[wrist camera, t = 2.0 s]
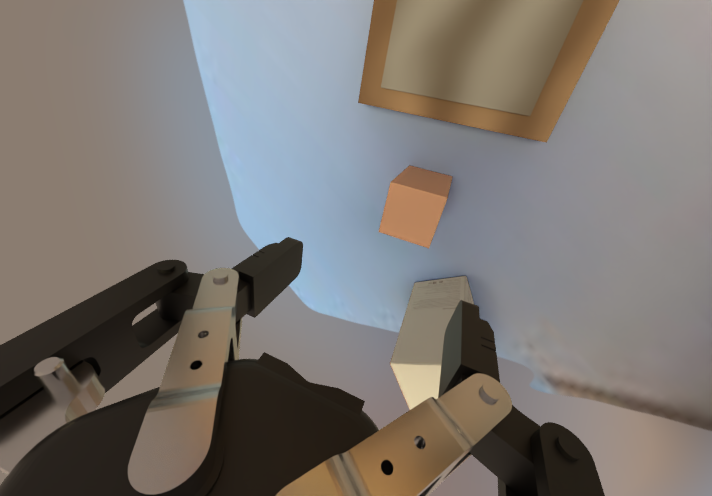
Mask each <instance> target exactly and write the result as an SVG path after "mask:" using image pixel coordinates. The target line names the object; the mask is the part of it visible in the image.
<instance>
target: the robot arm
mask: <svg viewBox="0 0 712 496" xmlns="http://www.w3.org/2000/svg"><path fill="white" fill-rule="evenodd" d="M302 252H303V243H302V242H301V241H298V240H295V239H293V238H290V237H287V238H285V239H284V240H283V241H281V242H280V243H273V244H270V245H267V246H265V247H263V248H262V249H260V250H259V252H256V253H255V254H253V256H252V255H251V256H250V257H248V258H247V259H246V260H244V261H242V262H241V263H239V264H238V265H236V266H235V267H233V268H232V269H230V268H216V269H213V270H210V271H209V272H207V273H205V274H198V273H191V272H188V270H187V266H186V264H185V263H184V262H182V261H179V260H165V261H161V262H158V263H155V264H153V265H151V266H149V267H148V268H146V269H144V270H142V271H140V272H138V273H136V274H134V275H132V276H130V277H129V278H127V279H125V280H123V281H121V282H119V283H117V284H116V285H113V286H112V287H110V288H108V289H106V290H104V291H102V292H100V293H98V294H97V295H94V296H93V297H91V298H89V299H87V300H85V301H83V302H81V303H80V304H78V305H76V306H74V307H72V308H70V309H68V310H66V311H64V312H62V313H60V314H59V315H57V316H55V317H53V318H51V319H49V320H47V321H45V322H44V323H42V324H40V325H38V326H36V327H34V328H32V329H30V330H28V331H26V332H25V333H23V334H21V335H19V336H17V337H15V338H13V339H11V340H10V341H8V342H6V343H4V344H2V345H0V471H1V472H3V473H5V474H6V475H8V476H7V477H6V479H5V480H4V481H3V482H2V484H1V485H0V496H429V495H430V494H431V493H432V492H433V491H434V490H435V489H436V488H437V487H438V486H439V485H440V484H441V483H442V482H443V481H444V480H445V479H446V478H447V477H448V476H449V475H450V474H451V473H452V472H454V471H455V469H457V468H458V467H459V466H460V465H461V464H462V463H463V462H464V461H465V460H466V459H467V458H468V457H469V456H471V455H473V456H474V457H475V458H476V459H478V460H479V461H480V462H481V463H482V464H483V465H484V466H486V467H487V468H488V469H489V470H490V471H491V472H493V473H494V474H495V475H496V476H497V477H498V496H605V495H604V492H603V489H602V485H601V482H600V479H599V476H598V473H597V470H596V467H595V463H594V461H593V458H592V456H591V454H590V452H589V451H588V450H587V448H586V447H585V446H584V444H583V443H582V442H581V441H580V440H579V438H577V437H576V436H575V435H574V434H573V433H572V432H571V431H569V430H568V429H566V428H564V427H563V426H561V425H558V424H555V423H549V422H548V423H545V424H543V425H542V426H541V427H540V426H539V425H538V424H536V423H535V422H534V421H532V420H531V419H529V418H528V417H527V416H525V415H524V414H522V413H521V412H520V411H518V410H517V409H516V408H515V407H514V406H513V405H512V401H511V398H510V396H509V394H508V392H507V390H506V389H505V388H504V387H503V386H502V385H501V384H500V379H499V371H498V363H497V355H496V352H495V351H496V347H495V344H494V343H495V339H494V332H493V330H492V328H491V327H490V325H489V323H488V322H487V321H484V320H482V319H480V317H479V307H478V306H477V305H474V304H471V303H468V302H466V301H463V300H460V301H459V303H458V305H457V307H456V309H455V311H454V313H453V315H452V317H451V319H450V321H449V323H448V325H447V328H446V331H445V335H444V343H443V353H442V364H441V374H440V384H439V394H438V398H437V399H435V398H434V397H430V398H428V399H426V400H425V401H423V402H422V403H420V404H419V405H417V406H416V407H414V408H412V409H411V410H409V411H408V412H406V413H405V414H403V415H402V416H400V417H399V418H397V419H396V420H394V421H393V422H391V423H390V424H388V425H387V426H385V427H383V428H382V429H380V430H378V428H377V426H376V425H375V424H374V422H373V421H372V420H371V419H370V417H369V416H368V415H367V414H366V413H364V412H363V411H362V408H363V405H364V402H365V401H363V400H361V399H359V398H357V397H355V396H353V395H351V394H349V393H347V392H345V391H343V390H341V389H339V388H334V387H329V386H324V385H319V384H314V383H310V382H308V381H306V380H305V379H304V378H303V377H302V376H301V375H300V374H298V373H297V372H296V371H295V370H294V369H293V368H292V367H291V366H290V365H288V364H287V363H285V362H283V361H281V360H279V359H277V358H275V357H273V356H271V355H269V354H267V353H263V355H262V356H261V357H260V359H258V360H256V359H240V360H239V349H240V338H241V327H242V317H243V316H244V315H245V314H248V315H250V316H252V317H256V316H257V315H258V314H259V313H260V312H261V311H262V310H263V309H264V308H265V307H266V306H268V304H270V303H271V302H272V301H273V300H274V299H275V298H276V297H277V296H278V295H279V294H280V293H281V292H282V291H283V290H284V289H285V288H286V287H287V286H288V285H289V284H290V283H291V282H292V281H293V280H294V279H295V278H296V277H297V276H298V274H299V273H300V270H301V264H302ZM154 303H156V305H157V309H156V310H155V311H153V312H152V313H150V314H149V315H147V316H146V317H144V318H143V319H142V320H140V321H139V322H137V323H136V324H134V325H133V326H132V321H133V320H134V318H135V317H136V316H137V315H138V314H139V313H140V312H142V311H143V310H145V309H146V308H148V307H150V306H151V305H152V304H154ZM177 333H178V335H177V337H176V341H175V344H174V347H173V350H172V352H171V355H170V358H169V361H168V364H167V367H166V371H165V373H164V376H163V379H162V383H161V385H160V387H158V388H155V389H152V390H150V391H147V392H144V393H141V394H139V395H136V396H133V397H131V398H128V399H125V400H122V401H120V402H117V403H114V404H111V405H109V406H106V407H103V408H100V409H98V410H96V408H97V407H98V405H99V404H100V403H101V401H102V400H103V397H104V394H105V393H106V392H107V391H108V390H109V389H111V388H112V387H113V386H114V385H116V384H117V383H118V382H119V381H120V380H122V379H123V378H124V377H125V376H126V375H127V374H129V373H130V372H131V371H132V370H134V369H135V368H136V367H137V366H138V365H139V364H141V363H142V362H143V361H144V360H145V359H147V358H148V357H149V356H150V355H152V354H153V353H154V352H155V351H156V350H158V349H159V348H160V347H161V346H162V345H163V344H165V343H166V342H167V341H168V340H170V339H171V338H172V337H173V336H175V335H176V334H177Z"/></svg>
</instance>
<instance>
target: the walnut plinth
mask: <svg viewBox="0 0 712 496" xmlns="http://www.w3.org/2000/svg"><path fill="white" fill-rule="evenodd" d="M618 2H619V0H374V4H373V11H372V17H371V24H370V30H369V37H368V43H367V50H366V56H365V63H364V69H363V76H362V82H361V89H360V95H359V101H358V103H362V104H367V105H372V106H376V107H381V108H386V109H391V110H395V111H400V112H405V113H409V114H414V115H419V116H424V117H428V118H433V119H438V120H443V121H447V122H452V123H457V124H462V125H466V126H471V127H476V128H480V129H485V130H490V131H495V132H499V133H504V134H509V135H514V136H518V137H523V138H528V139H533V140H537V141H542V142H547V140H548V138H549V136H550V134H551V132H552V131H553V129H554V127H555V125H556V123H557V121H558V119H559V117H560V115H561V113H562V111H563V109H564V107H565V105H566V103H567V101H568V99H569V97H570V96H571V94H572V92H573V90H574V88H575V86H576V84H577V82H578V80H579V78H580V76H581V74H582V72H583V70H584V68H585V66H586V64H587V62H588V61H589V59H590V57H591V55H592V53H593V51H594V49H595V47H596V45H597V43H598V41H599V39H600V37H601V35H602V33H603V31H604V29H605V27H606V25H607V24H608V22H609V20H610V18H611V16H612V14H613V12H614V10H615V8H616V6H617V4H618Z"/></svg>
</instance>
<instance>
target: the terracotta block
mask: <svg viewBox="0 0 712 496" xmlns="http://www.w3.org/2000/svg"><path fill="white" fill-rule="evenodd" d="M451 181H452V176H449V175H445V174H441V173H437V172H433V171H429V170H425V169H421V168H418V167H414V166H410V165H409V166H408V167H407V168H406V169H405V170H404V171H403V172H401V173H400V174H399V175H398V176H397V177H396V178H395V179H394V180H392V181H391V183H390V187H389V191H388V196H387V200H386V204H385V208H384V212H383V216H382V220H381V224H380V228H379V232H381V233H384V234H387V235H390V236H393V237H396V238H399V239H402V240H405V241H408V242H411V243H414V244H417V245H420V246H424V247H427V248H429V247H430V244H431V241H432V239H433V236H434V233H435V230H436V228H437V225H438V222H439V220H440V217H441V214H442V212H443V209H444V206H445V203H446V201H447V198H448V194H449V190H450V186H451Z"/></svg>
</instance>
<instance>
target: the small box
mask: <svg viewBox="0 0 712 496" xmlns="http://www.w3.org/2000/svg"><path fill="white" fill-rule="evenodd" d="M460 300H463V301H466V302H468V303H471V304H474V302H473V298H472V294H471V291H470V287H469V284H468V280H467V277H466V276H461V277H453V278H445V279H437V280H430V281H423V282H416V283H414V286H413V290H412V293H411V296H410V300H409V303H408V306H407V310H406V313H405V316H404V319H403V322H402V326H401V329H400V332H399V336H398V339H397V342H396V346H395V349H394V352H393V356H392V358H391V362H390V365H391V367H392V370H393V372H394V374H395V377H396V379H397V381H398V384H399V386H400V388H401V390H402V393H403V396H404V398H405V400H406V403H407V405H408V407H409V409H410V410H411V409H412V408H414V407H416V406H417V405H419V404H420V403H422V402H423V401H425V400H426V399H428V398H430V397H434V398H435V399H437V398H438V394H439V384H440V374H441V364H442V353H443V343H444V335H445V331H446V328H447V325H448V323H449V321H450V319H451V317H452V315H453V313H454V311H455V309H456V307H457V305H458V303H459V301H460Z"/></svg>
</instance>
